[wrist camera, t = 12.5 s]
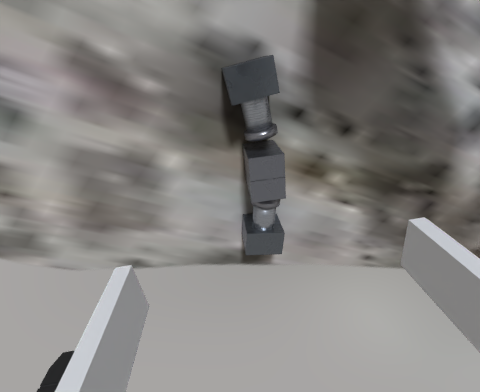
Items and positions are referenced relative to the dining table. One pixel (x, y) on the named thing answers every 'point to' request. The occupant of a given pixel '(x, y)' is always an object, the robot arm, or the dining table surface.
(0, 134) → the dining table surface
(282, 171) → the block
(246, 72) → the shaft
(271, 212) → the shaft
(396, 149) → the dining table surface
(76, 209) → the dining table surface
